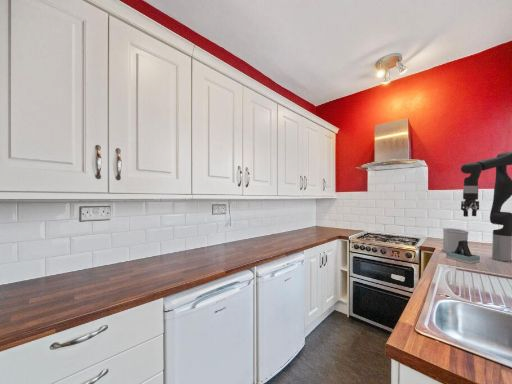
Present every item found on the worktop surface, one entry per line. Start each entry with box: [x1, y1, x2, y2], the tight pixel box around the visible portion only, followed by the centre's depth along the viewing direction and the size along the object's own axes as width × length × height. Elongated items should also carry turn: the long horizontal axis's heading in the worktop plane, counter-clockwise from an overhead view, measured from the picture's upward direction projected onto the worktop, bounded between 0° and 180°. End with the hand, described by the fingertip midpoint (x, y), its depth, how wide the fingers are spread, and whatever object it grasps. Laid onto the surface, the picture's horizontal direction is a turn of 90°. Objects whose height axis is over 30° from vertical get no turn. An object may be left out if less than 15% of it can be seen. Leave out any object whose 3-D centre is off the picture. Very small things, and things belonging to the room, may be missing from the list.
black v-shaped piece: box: [454, 240, 472, 257], centre depth 158 cm, size 9×6×12 cm, turn 26°
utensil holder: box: [442, 227, 469, 253], centre depth 177 cm, size 15×15×18 cm
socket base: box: [445, 251, 481, 264], centre depth 158 cm, size 11×14×4 cm
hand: (469, 216), depth 156 cm, fingers open, 8 cm apart
